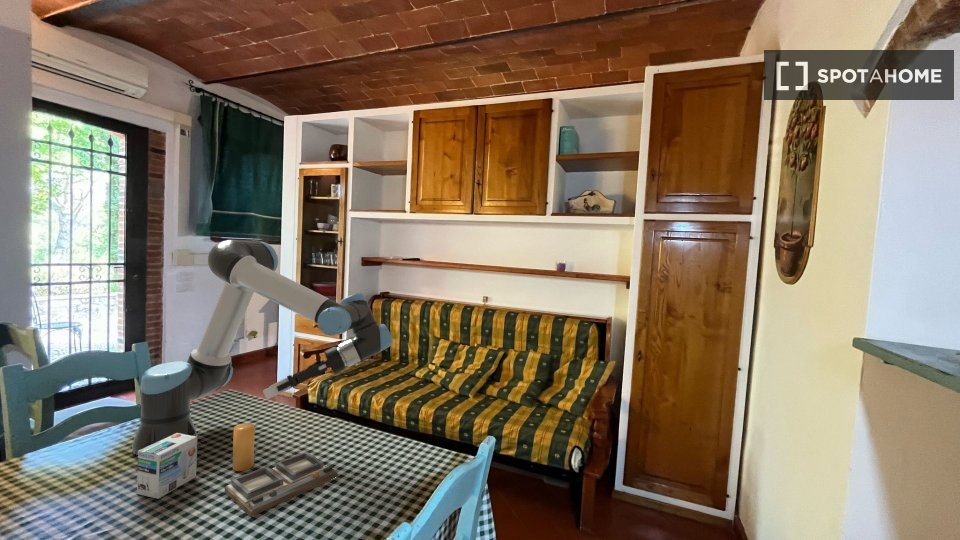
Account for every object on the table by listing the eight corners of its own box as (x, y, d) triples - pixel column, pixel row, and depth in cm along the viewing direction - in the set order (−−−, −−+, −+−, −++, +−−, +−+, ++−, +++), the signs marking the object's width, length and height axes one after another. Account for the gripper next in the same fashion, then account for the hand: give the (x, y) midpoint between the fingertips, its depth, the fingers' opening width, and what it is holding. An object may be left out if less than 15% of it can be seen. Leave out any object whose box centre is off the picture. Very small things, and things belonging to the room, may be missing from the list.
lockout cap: (229, 466, 113) (230, 427, 112) (248, 459, 117) (249, 421, 116) (237, 473, 110) (238, 432, 109) (256, 466, 114) (258, 427, 113)
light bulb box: (158, 499, 97) (159, 455, 97) (135, 494, 99) (135, 450, 98) (197, 476, 108) (198, 435, 107) (176, 471, 109) (177, 431, 109)
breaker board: (224, 491, 102) (225, 479, 101) (308, 458, 119) (309, 448, 119) (250, 516, 93) (250, 503, 93) (336, 477, 111) (337, 465, 110)
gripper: (348, 370, 112) (267, 411, 104) (345, 366, 135) (278, 399, 127) (337, 345, 112) (255, 383, 104) (335, 345, 135) (268, 377, 127)
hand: (268, 392), depth 116 cm, fingers open, 13 cm apart
